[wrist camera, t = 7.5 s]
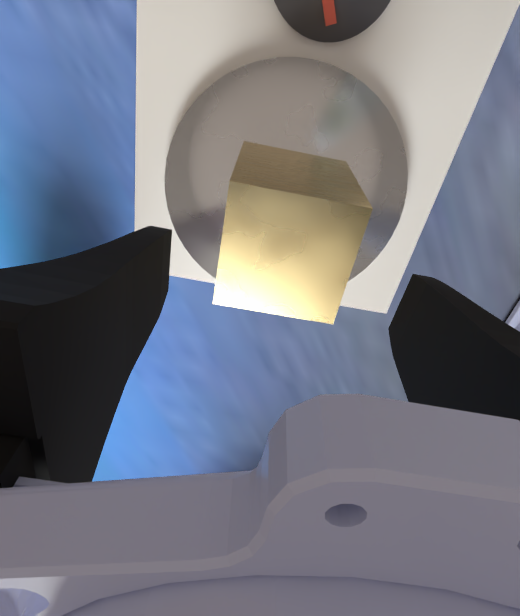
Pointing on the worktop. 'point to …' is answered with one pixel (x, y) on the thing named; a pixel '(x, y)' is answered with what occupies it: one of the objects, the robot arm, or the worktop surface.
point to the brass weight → (289, 233)
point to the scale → (340, 53)
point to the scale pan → (283, 146)
